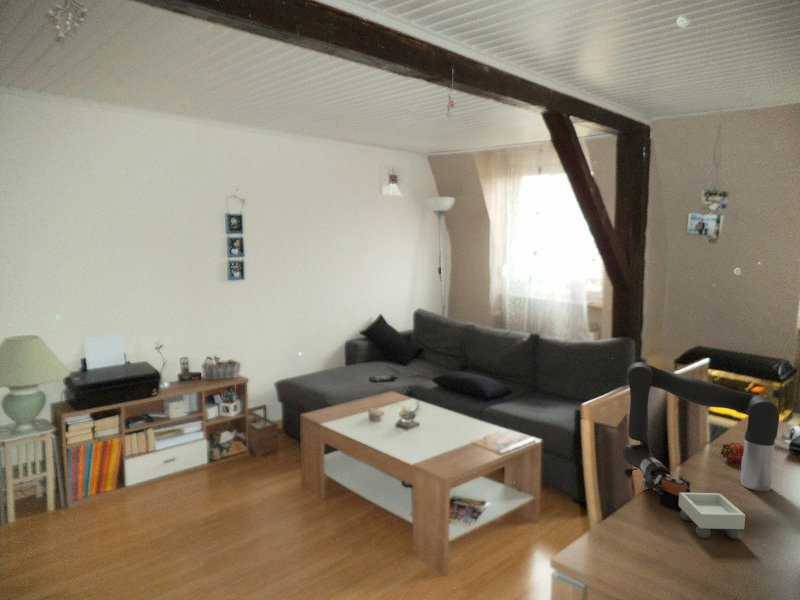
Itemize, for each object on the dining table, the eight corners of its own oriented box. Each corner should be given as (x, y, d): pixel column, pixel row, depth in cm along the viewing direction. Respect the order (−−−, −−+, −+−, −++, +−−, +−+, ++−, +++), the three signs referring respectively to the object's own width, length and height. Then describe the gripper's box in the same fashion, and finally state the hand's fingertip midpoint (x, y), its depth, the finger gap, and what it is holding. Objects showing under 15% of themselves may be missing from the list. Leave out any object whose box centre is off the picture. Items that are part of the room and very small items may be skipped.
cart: (677, 516, 181) (679, 492, 180) (717, 517, 181) (719, 493, 180) (699, 540, 167) (701, 514, 166) (743, 541, 167) (745, 515, 166)
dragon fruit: (723, 467, 224) (736, 465, 231) (743, 461, 218) (756, 458, 225) (713, 447, 227) (726, 445, 234) (732, 440, 222) (745, 438, 229)
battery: (679, 512, 184) (681, 484, 183) (659, 504, 190) (661, 477, 188) (685, 508, 187) (687, 480, 186) (665, 501, 192) (667, 473, 191)
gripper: (635, 461, 202) (654, 481, 186) (675, 461, 201) (697, 481, 185) (634, 480, 203) (653, 502, 187) (674, 481, 202) (696, 503, 186)
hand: (675, 492), depth 186 cm, fingers open, 8 cm apart
